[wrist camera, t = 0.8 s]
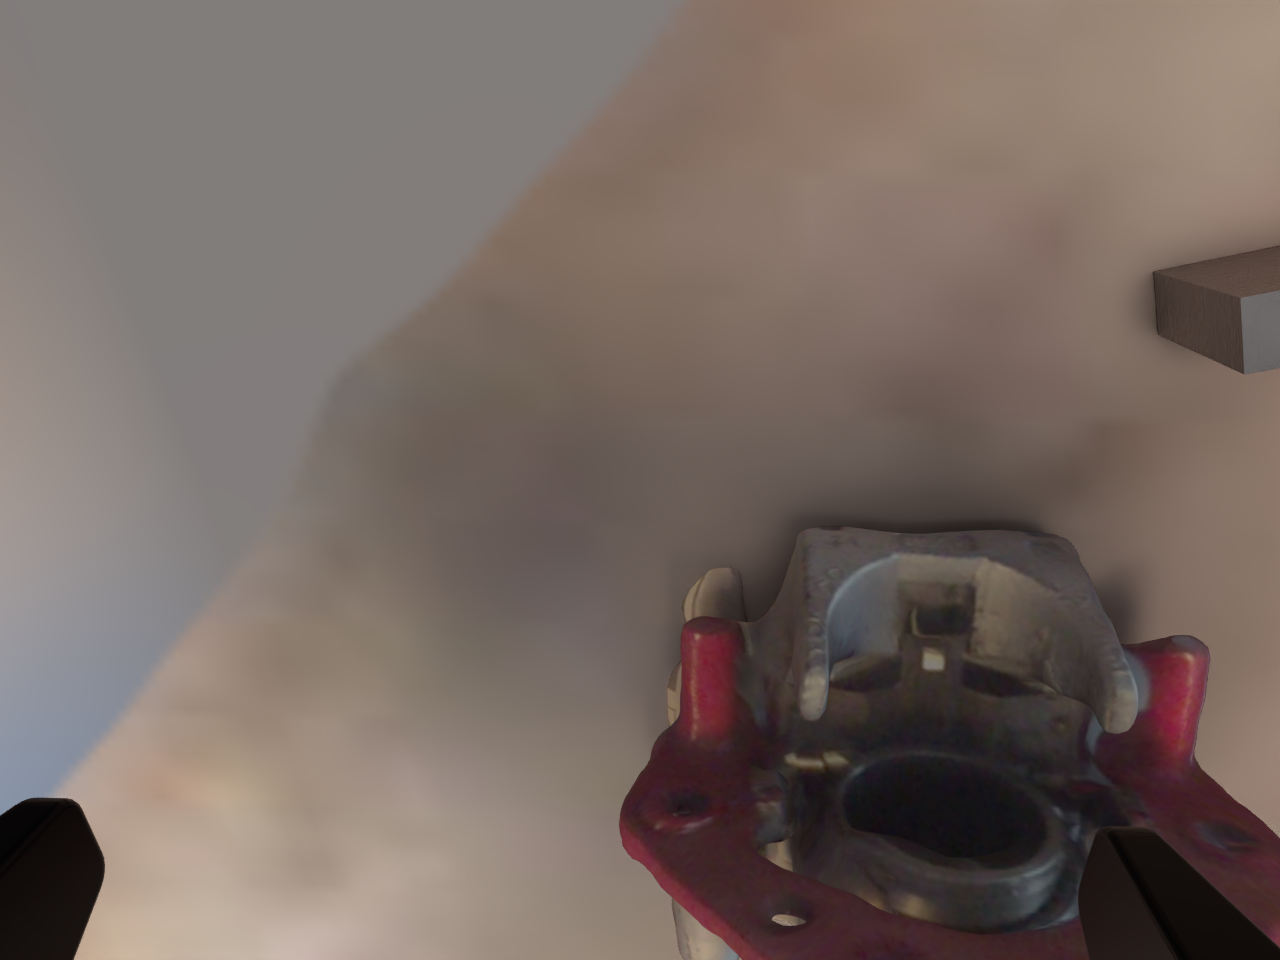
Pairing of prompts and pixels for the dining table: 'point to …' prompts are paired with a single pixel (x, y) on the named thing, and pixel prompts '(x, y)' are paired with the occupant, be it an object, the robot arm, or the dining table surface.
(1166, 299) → the receiver
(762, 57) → the dining table surface
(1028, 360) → the dining table surface
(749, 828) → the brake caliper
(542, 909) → the dining table surface
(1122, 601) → the dining table surface
